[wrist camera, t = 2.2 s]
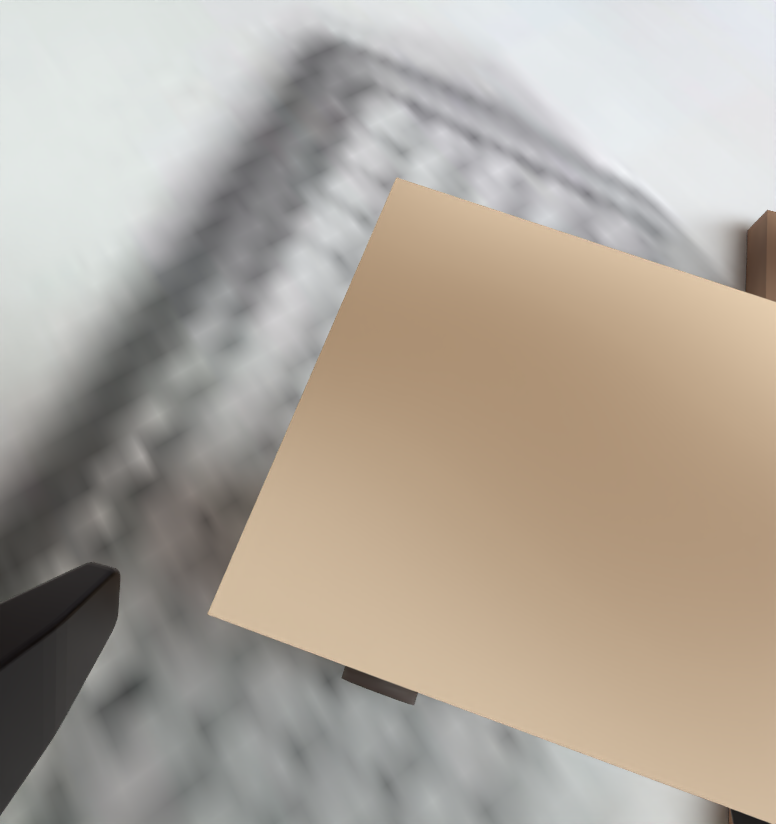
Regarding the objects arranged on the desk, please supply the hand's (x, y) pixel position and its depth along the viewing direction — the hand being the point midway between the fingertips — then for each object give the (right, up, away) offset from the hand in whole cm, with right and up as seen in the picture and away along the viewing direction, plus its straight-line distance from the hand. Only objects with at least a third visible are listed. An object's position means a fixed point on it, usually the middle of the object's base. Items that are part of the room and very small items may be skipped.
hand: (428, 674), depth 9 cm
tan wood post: (0, -2, +10) cm, 10 cm away
